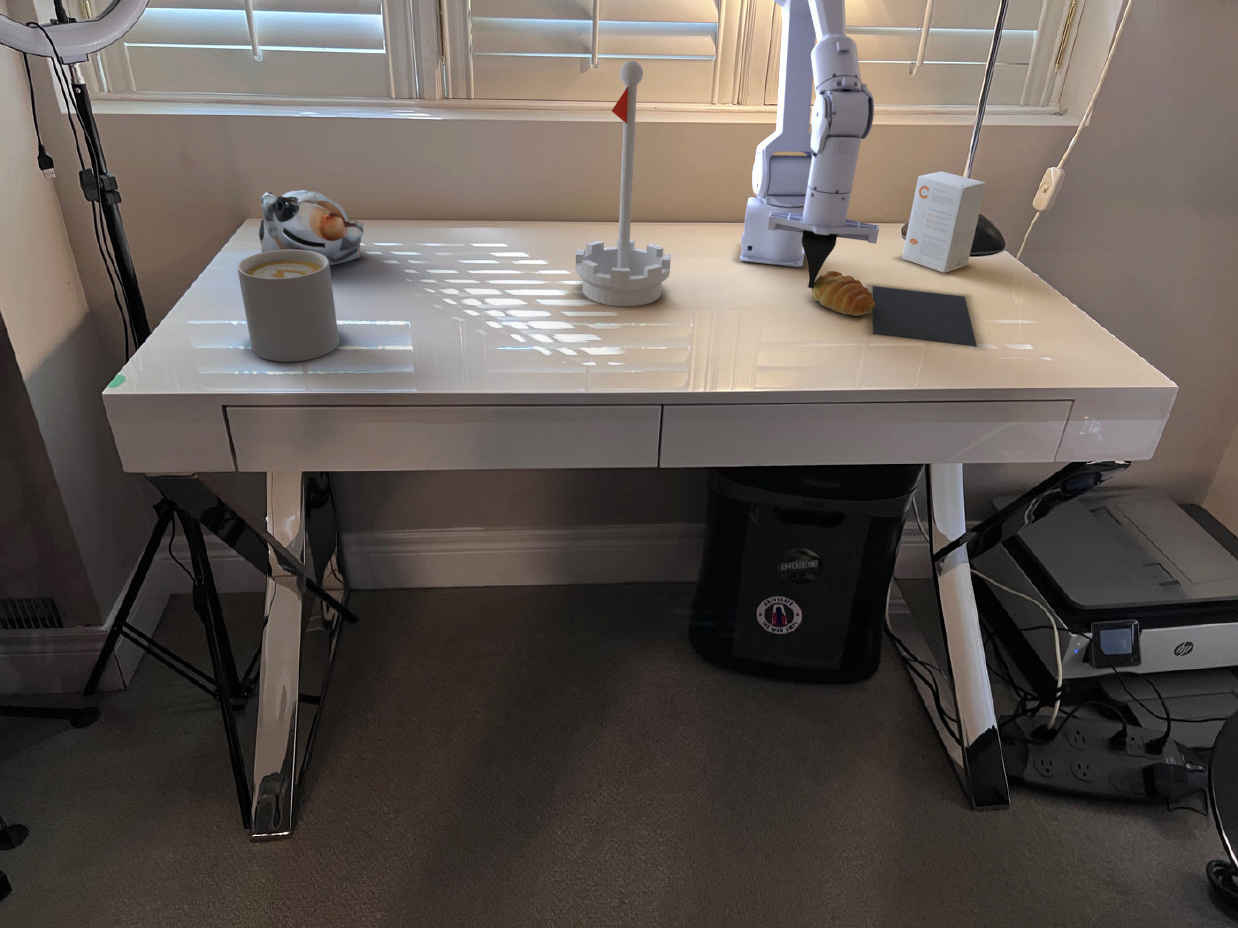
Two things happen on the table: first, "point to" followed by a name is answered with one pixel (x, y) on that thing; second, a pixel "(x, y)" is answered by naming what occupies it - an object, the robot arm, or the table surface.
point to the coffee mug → (289, 304)
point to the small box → (943, 221)
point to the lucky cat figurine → (309, 226)
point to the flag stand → (624, 229)
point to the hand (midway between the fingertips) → (812, 285)
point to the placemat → (922, 316)
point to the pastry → (842, 294)
